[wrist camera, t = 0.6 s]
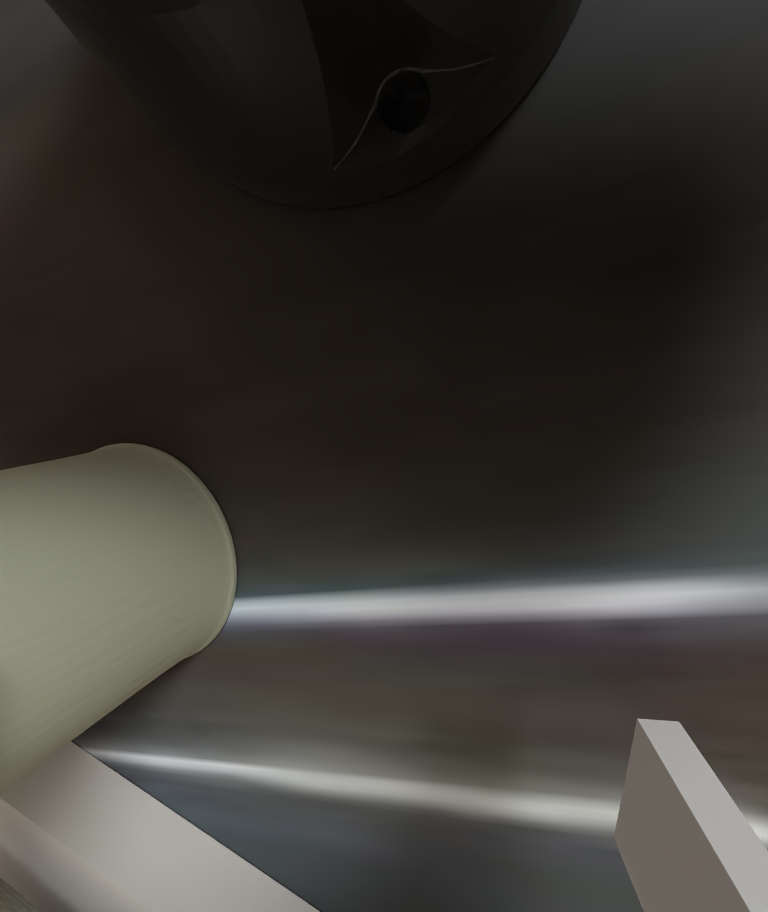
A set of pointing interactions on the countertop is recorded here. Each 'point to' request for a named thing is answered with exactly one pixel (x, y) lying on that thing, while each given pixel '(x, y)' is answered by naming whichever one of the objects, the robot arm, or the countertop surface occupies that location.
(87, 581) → the can
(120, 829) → the scale
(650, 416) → the countertop surface
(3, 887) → the scale pan
